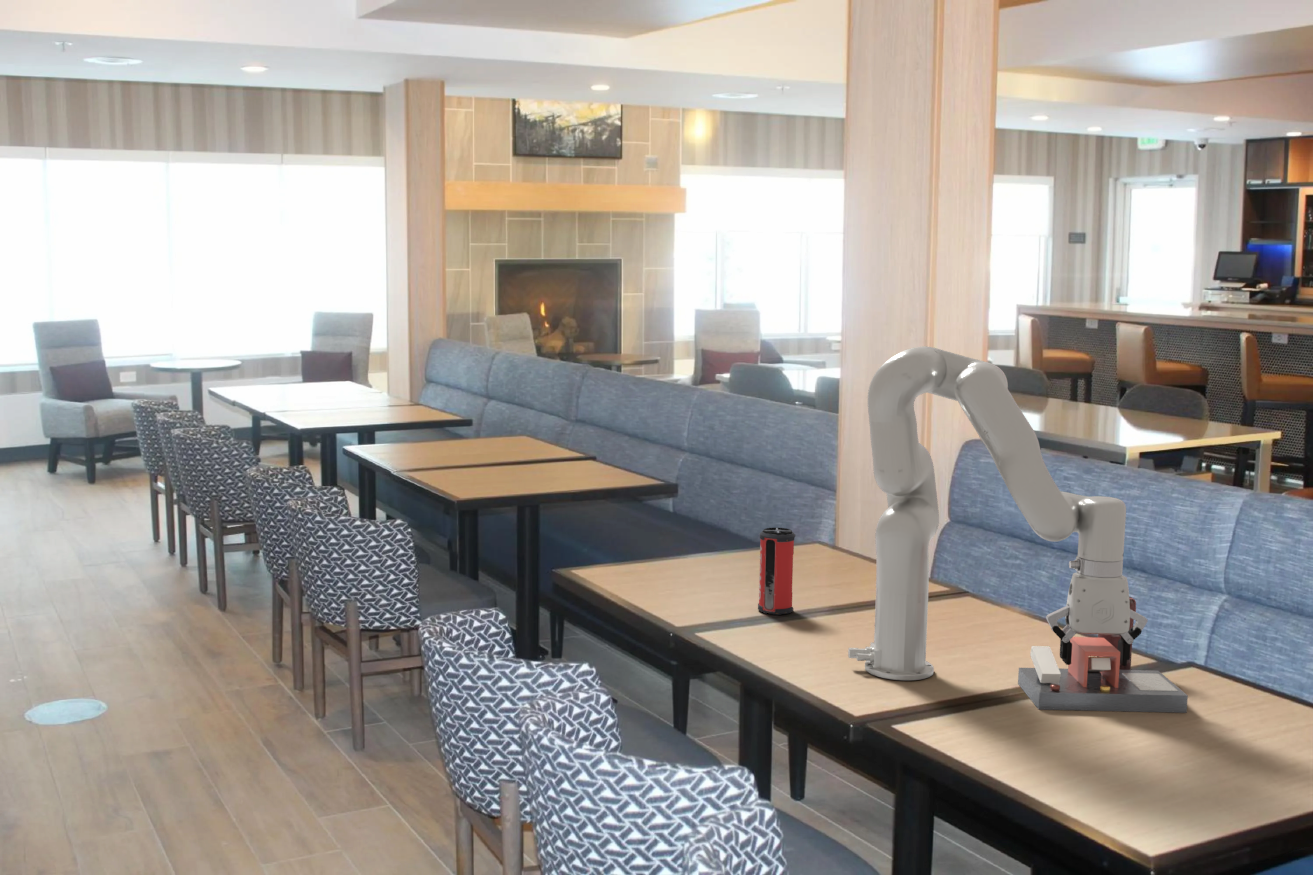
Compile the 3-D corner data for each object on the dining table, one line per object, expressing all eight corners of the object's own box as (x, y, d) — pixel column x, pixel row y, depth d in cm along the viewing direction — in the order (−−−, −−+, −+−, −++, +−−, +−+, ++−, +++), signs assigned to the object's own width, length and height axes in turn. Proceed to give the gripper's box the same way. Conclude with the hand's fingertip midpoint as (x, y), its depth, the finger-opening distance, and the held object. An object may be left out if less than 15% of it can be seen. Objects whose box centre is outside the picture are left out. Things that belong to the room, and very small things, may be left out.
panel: (1038, 709, 221) (1039, 685, 221) (1017, 683, 235) (1019, 660, 235) (1186, 712, 221) (1188, 688, 220) (1157, 686, 235) (1158, 663, 234)
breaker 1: (1040, 682, 225) (1042, 673, 224) (1030, 654, 232) (1031, 645, 232) (1059, 683, 225) (1060, 674, 224) (1048, 655, 232) (1049, 646, 231)
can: (1134, 675, 241) (1138, 601, 239) (1098, 672, 242) (1102, 599, 240) (1129, 665, 247) (1133, 593, 245) (1094, 663, 248) (1098, 591, 246)
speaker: (794, 615, 279) (797, 533, 277) (759, 615, 280) (761, 533, 277) (791, 606, 287) (793, 526, 285) (756, 606, 287) (758, 526, 285)
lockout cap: (1083, 686, 224) (1085, 651, 223) (1068, 670, 233) (1070, 636, 232) (1118, 687, 224) (1120, 652, 223) (1101, 671, 233) (1103, 637, 232)
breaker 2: (1091, 669, 224) (1091, 656, 225) (1078, 672, 232) (1077, 660, 232) (1110, 669, 224) (1110, 656, 225) (1096, 672, 232) (1095, 660, 232)
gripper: (1055, 571, 222) (1050, 668, 225) (1157, 573, 222) (1151, 670, 224) (1043, 562, 230) (1038, 655, 232) (1142, 564, 230) (1136, 658, 232)
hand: (1094, 663), depth 228 cm, fingers open, 9 cm apart
